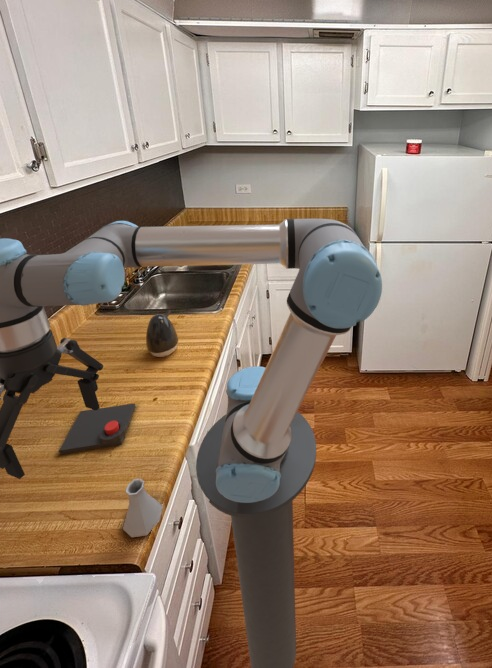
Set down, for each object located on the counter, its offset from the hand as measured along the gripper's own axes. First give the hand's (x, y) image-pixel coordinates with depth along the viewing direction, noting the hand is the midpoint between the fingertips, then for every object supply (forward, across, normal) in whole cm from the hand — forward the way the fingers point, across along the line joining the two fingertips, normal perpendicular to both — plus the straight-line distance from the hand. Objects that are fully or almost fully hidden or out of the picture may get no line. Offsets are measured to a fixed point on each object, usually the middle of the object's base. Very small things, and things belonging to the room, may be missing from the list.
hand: (58, 437), depth 59 cm
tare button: (+23, -17, -12) cm, 31 cm away
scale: (+25, -18, -18) cm, 36 cm away
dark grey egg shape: (+25, -49, -23) cm, 60 cm away
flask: (+25, -4, +9) cm, 27 cm away
